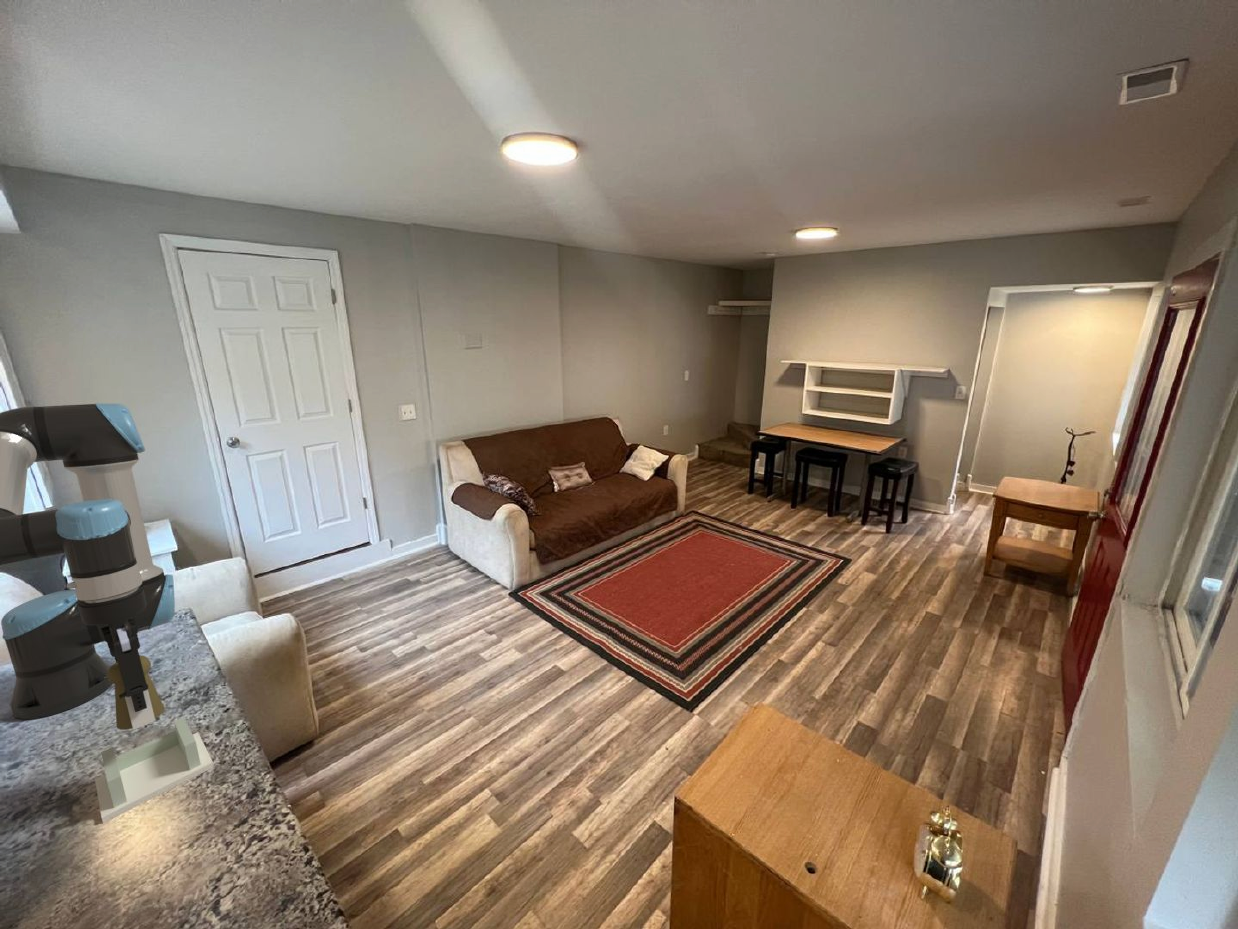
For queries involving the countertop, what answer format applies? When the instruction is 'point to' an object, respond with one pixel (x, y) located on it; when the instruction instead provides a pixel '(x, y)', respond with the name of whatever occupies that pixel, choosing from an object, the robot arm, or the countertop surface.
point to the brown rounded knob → (121, 705)
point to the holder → (150, 770)
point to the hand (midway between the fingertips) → (141, 715)
